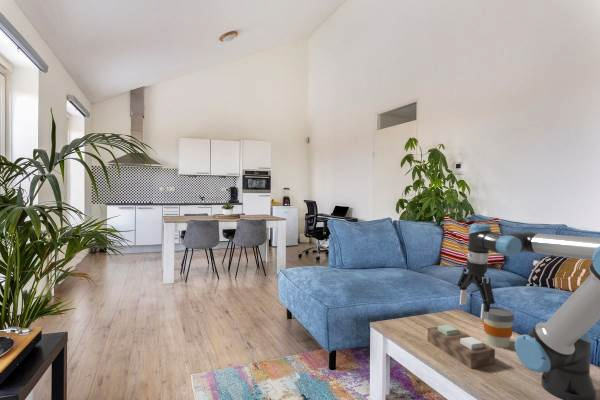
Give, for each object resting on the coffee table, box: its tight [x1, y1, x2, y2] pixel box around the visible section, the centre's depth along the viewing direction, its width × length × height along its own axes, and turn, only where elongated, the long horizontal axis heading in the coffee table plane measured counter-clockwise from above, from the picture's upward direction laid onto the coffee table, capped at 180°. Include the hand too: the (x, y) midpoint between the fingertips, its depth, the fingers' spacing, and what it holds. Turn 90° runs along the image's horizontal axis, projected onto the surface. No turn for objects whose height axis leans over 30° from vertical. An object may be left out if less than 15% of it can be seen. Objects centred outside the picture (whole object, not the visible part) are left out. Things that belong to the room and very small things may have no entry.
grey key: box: [460, 336, 484, 350], centre depth 141 cm, size 6×6×5 cm
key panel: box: [427, 326, 496, 370], centre depth 148 cm, size 26×12×6 cm, turn 18°
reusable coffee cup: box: [482, 306, 515, 349], centre depth 156 cm, size 13×13×15 cm
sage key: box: [437, 324, 459, 335], centre depth 155 cm, size 6×6×5 cm
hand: (473, 311), depth 141 cm, fingers open, 13 cm apart
